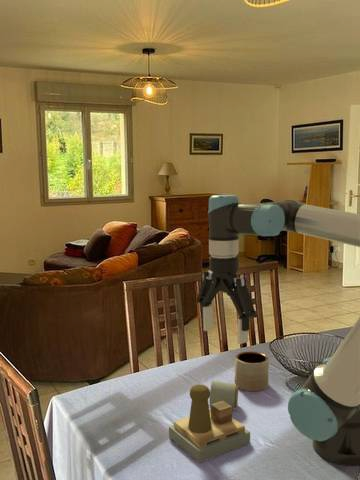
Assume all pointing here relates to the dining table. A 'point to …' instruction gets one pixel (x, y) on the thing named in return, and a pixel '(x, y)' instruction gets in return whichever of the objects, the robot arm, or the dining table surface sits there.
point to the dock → (209, 444)
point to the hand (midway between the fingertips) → (224, 336)
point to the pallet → (214, 433)
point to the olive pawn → (199, 409)
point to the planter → (251, 371)
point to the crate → (221, 412)
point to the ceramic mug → (224, 393)
